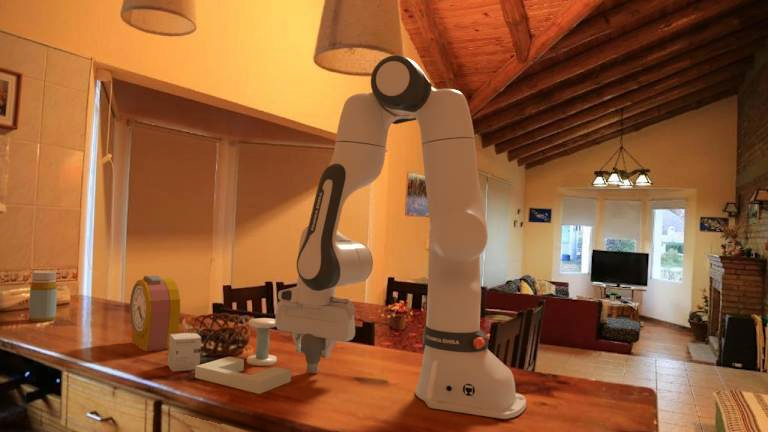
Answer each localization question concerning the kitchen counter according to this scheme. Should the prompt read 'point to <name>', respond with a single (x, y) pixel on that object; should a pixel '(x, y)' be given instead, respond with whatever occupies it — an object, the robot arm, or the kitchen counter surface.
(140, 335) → the alarm clock
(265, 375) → the notched board
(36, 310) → the bottle
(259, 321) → the bobbin
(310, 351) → the light bulb
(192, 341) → the skincare box
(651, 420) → the kitchen counter surface
